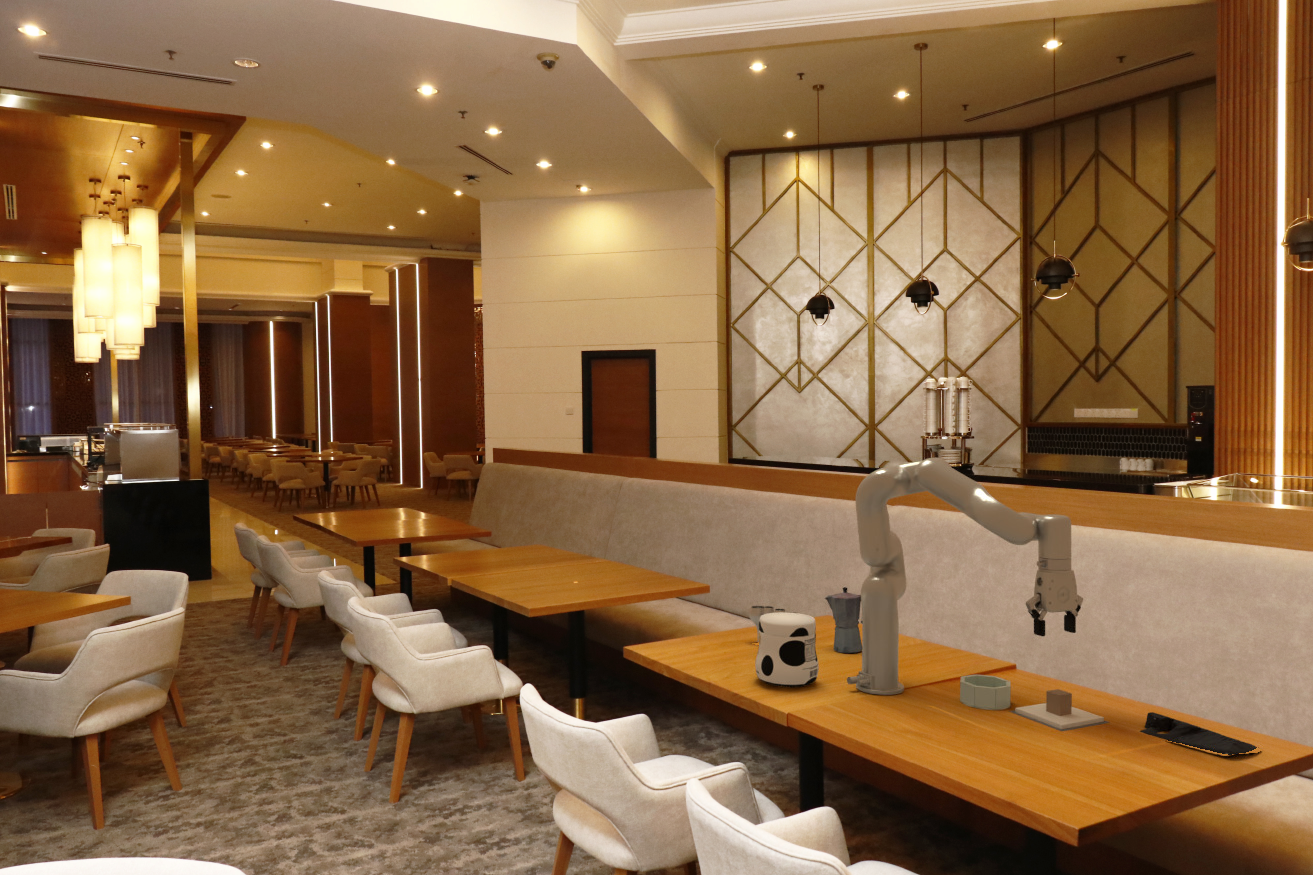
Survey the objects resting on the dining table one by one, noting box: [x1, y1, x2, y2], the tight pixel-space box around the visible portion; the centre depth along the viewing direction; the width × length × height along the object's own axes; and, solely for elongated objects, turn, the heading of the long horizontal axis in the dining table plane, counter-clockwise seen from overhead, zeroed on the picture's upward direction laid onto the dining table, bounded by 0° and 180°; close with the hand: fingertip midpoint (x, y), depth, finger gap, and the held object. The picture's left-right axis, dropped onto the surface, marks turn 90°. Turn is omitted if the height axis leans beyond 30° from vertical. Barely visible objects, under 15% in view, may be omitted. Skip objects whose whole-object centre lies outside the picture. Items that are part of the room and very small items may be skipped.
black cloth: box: [1139, 711, 1258, 755], centre depth 209 cm, size 15×22×5 cm
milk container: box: [755, 611, 820, 688], centre depth 254 cm, size 17×17×18 cm
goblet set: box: [748, 605, 797, 642], centre depth 289 cm, size 28×6×13 cm, turn 30°
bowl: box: [959, 674, 1012, 711], centre depth 235 cm, size 12×12×6 cm
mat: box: [1008, 709, 1111, 732], centre depth 224 cm, size 16×16×1 cm
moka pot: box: [824, 586, 862, 654], centre depth 290 cm, size 10×15×20 cm, turn 82°
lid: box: [1014, 688, 1105, 729], centre depth 224 cm, size 14×14×6 cm
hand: (1054, 633), depth 228 cm, fingers open, 9 cm apart
